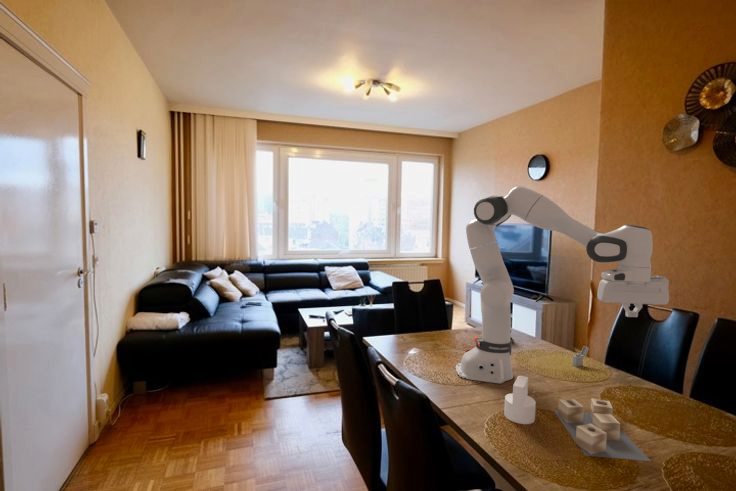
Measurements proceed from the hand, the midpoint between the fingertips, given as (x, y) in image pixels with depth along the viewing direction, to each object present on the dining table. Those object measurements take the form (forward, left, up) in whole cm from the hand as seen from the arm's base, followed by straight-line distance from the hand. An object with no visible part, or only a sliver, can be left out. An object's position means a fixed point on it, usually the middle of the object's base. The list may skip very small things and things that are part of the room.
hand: (631, 316), depth 123 cm
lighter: (+1, +38, -31) cm, 49 cm away
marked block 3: (-22, -26, -30) cm, 46 cm away
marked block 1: (-22, -11, -30) cm, 39 cm away
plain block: (-15, -19, -30) cm, 39 cm away
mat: (-17, -18, -31) cm, 40 cm away
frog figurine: (-25, +67, -32) cm, 78 cm away
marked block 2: (-12, -9, -30) cm, 34 cm away
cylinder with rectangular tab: (-37, -12, -31) cm, 50 cm away
